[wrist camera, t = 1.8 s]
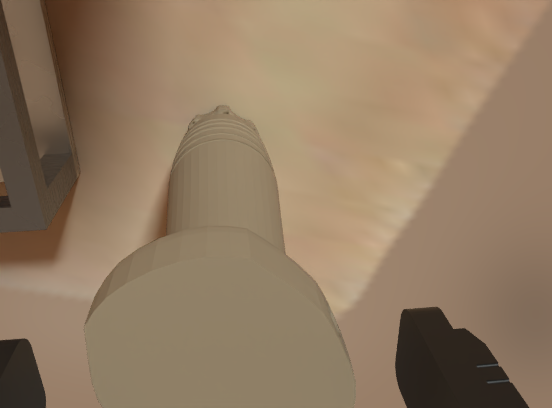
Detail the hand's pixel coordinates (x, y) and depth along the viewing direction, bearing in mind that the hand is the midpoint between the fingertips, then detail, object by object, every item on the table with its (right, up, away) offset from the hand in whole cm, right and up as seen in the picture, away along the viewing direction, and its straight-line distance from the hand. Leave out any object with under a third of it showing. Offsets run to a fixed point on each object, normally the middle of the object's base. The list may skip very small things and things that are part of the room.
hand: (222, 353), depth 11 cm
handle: (-1, +6, +13) cm, 14 cm away
